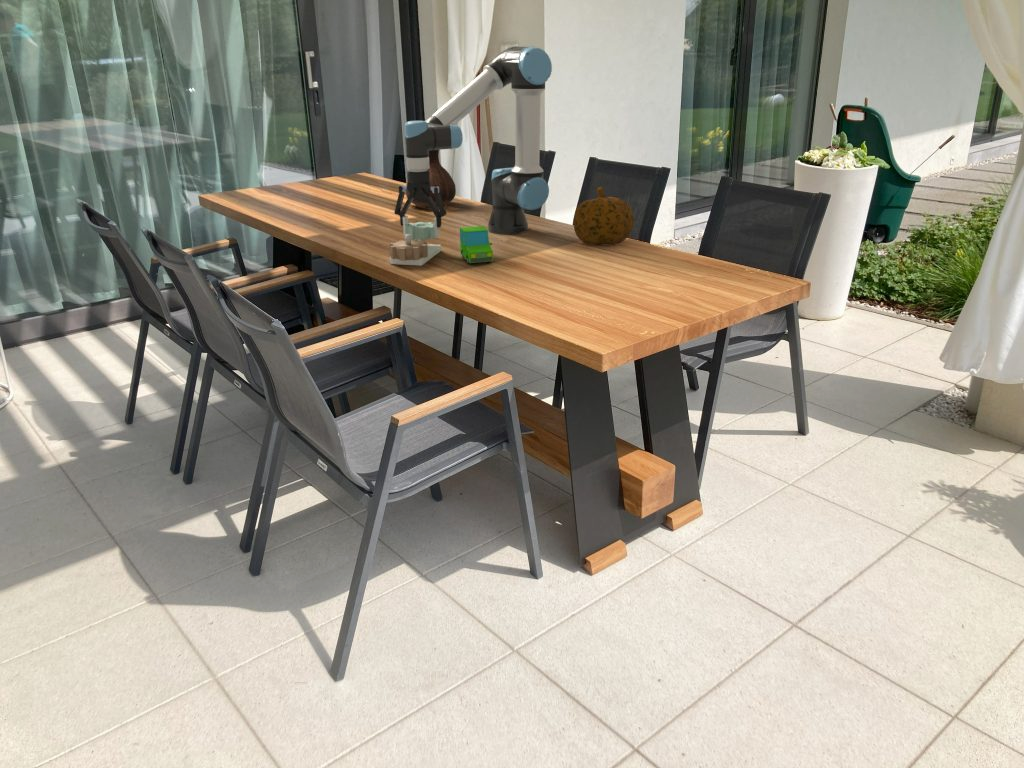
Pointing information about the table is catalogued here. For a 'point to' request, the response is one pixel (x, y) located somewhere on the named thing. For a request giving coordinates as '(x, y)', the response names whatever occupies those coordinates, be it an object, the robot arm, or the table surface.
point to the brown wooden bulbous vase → (437, 182)
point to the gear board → (422, 260)
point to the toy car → (475, 245)
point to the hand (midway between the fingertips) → (421, 236)
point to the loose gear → (420, 230)
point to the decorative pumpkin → (603, 220)
